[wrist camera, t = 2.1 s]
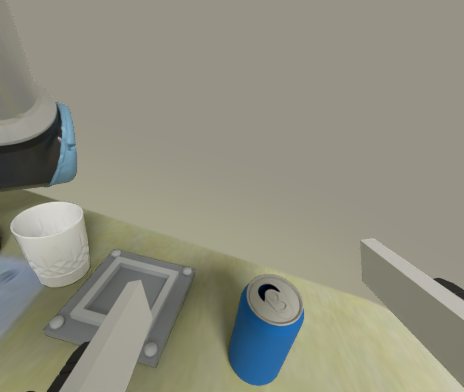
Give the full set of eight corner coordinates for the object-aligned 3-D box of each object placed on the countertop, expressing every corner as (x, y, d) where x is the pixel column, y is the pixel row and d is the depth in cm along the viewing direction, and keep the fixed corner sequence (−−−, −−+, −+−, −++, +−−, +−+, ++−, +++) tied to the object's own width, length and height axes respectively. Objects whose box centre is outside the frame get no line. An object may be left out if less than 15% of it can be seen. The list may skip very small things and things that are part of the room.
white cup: (101, 250, 42) (90, 201, 37) (84, 290, 35) (69, 237, 30) (49, 251, 40) (30, 200, 35) (21, 293, 34) (-6, 238, 29)
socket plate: (46, 335, 30) (41, 324, 29) (115, 254, 42) (113, 244, 40) (155, 367, 28) (154, 358, 27) (194, 274, 40) (195, 264, 39)
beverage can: (257, 323, 34) (276, 263, 28) (290, 367, 30) (321, 308, 24) (218, 347, 31) (229, 285, 25) (248, 402, 27) (272, 343, 20)
